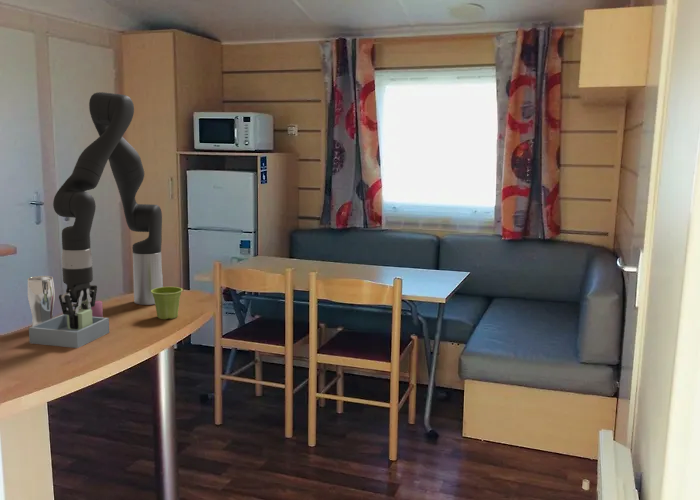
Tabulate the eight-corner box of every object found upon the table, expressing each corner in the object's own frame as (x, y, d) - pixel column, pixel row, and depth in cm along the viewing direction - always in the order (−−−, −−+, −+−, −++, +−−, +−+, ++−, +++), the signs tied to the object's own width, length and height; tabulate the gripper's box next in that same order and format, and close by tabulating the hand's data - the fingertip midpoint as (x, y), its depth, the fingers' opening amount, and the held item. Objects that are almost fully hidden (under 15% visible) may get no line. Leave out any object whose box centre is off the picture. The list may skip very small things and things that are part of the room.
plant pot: (171, 322, 197) (170, 294, 195) (145, 318, 200) (144, 291, 199) (189, 315, 206) (188, 288, 204) (164, 311, 209) (163, 285, 207)
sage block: (92, 325, 180) (92, 309, 179) (82, 330, 175) (81, 313, 175) (78, 324, 181) (77, 308, 180) (67, 329, 176) (66, 312, 176)
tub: (64, 328, 188) (63, 313, 188) (109, 332, 185) (108, 317, 185) (29, 343, 174) (28, 327, 174) (77, 348, 171) (77, 332, 171)
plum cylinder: (93, 319, 198) (92, 300, 197) (106, 320, 198) (105, 301, 197) (84, 322, 194) (83, 303, 193) (97, 324, 193) (96, 304, 192)
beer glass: (30, 326, 189) (27, 276, 187) (56, 324, 192) (54, 275, 189) (29, 333, 183) (26, 281, 180) (56, 331, 186) (53, 279, 183)
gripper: (73, 270, 167) (76, 334, 170) (105, 261, 181) (107, 320, 184) (47, 269, 169) (51, 332, 172) (81, 259, 183) (83, 318, 186)
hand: (80, 325), depth 178 cm, fingers closed on sage block, 4 cm apart
